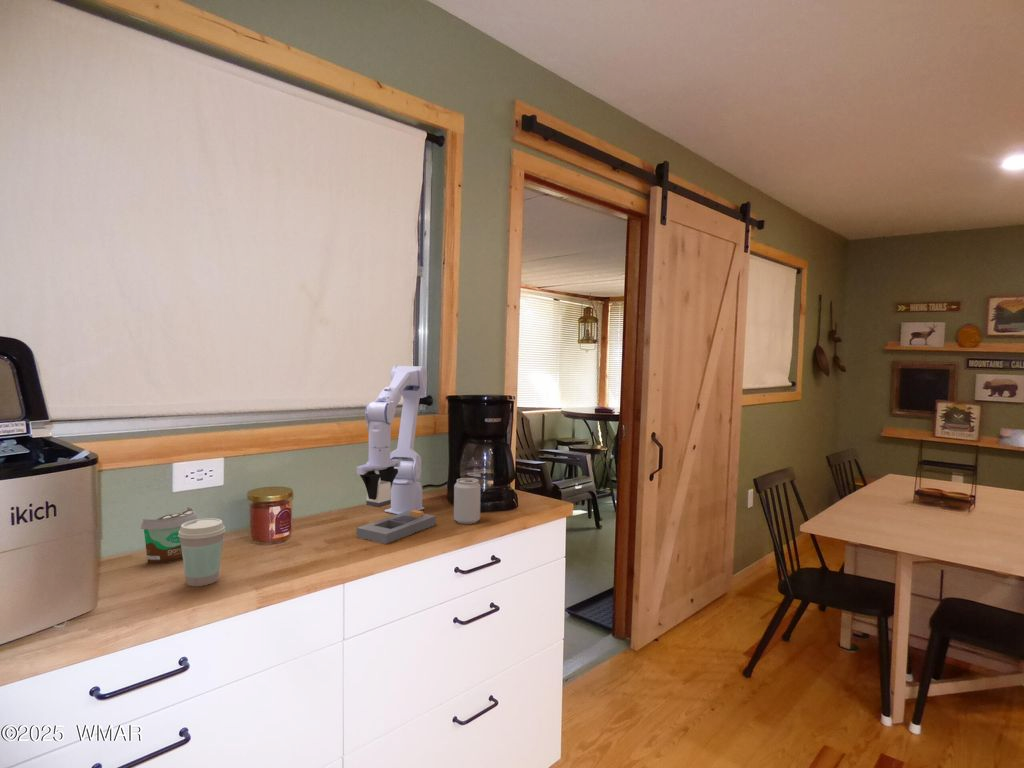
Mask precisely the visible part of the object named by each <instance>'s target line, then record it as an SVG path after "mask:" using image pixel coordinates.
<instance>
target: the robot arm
mask: <svg viewBox="0 0 1024 768" xmlns="http://www.w3.org/2000/svg"><path fill="white" fill-rule="evenodd" d="M427 373H428V371H427V369H426V368H425V366H424V365H420V366H418V365H417V366H415V365H414V366H413V365H397V364H396V365H394V366H393V367H392V369H391V372H390V383H389V385H388V386H385V387H384V388H382V390H381V392H380V393H379V394H378V396H377V397H376V399H375V400H374V401H371V402H369V403H367V404H366V407H365V410H364V411H365V412H364V419H365V421H366V429H367V430H368V460H367V461H366V463H365V464H362V465H359V466H356V474H357V475H359V476H360V478H361V480H362V481H363V483H364V485H365V488H366V494H367V493H368V497H369V499H373V500H375V499H376V497H377V486H378V481H379V480H381V481H387V482H391V493H390V500H391V504H390V508H386V509H384V512H385V513H391V514H394V515H397V514H400V513H403V512H406V511H413V510H418V511H423V510H425V507H424V506H423V486H422V484H421V482H420V481H419V480H420V478H421V475H422V457H421V455H419V453H418V452H416V451H415V450H414V447H415V446H414V445H415V437H416V430H417V421H418V413H419V405H420V401H421V400H420V399H421V397H422V396H424V395H425V394H426V390H427V383H428V374H427ZM401 398H403V400H402V408H401V416H400V424H399V431H398V438H397V439H398V441H397V447H396V449H394V450H392V451H391V438H392V437H391V435H392V434H391V432H392V431H391V427H392V423H393V422H394V420H395V414H396V408H397V406H398V405H399V403H400V401H401ZM377 471H378V473H379V474H378V473H377Z"/></svg>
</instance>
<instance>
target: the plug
mask: <svg viewBox="0 0 1024 768" xmlns="http://www.w3.org/2000/svg"><path fill="white" fill-rule="evenodd" d="M365 505H366V506H368V507H374V508H382V507H386V506H388V505H391V482H387V481H381V479H379V481H378V486H377V497H376V499H375V500H373V499H369V497H368V493H367V492H366V504H365Z"/></svg>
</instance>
